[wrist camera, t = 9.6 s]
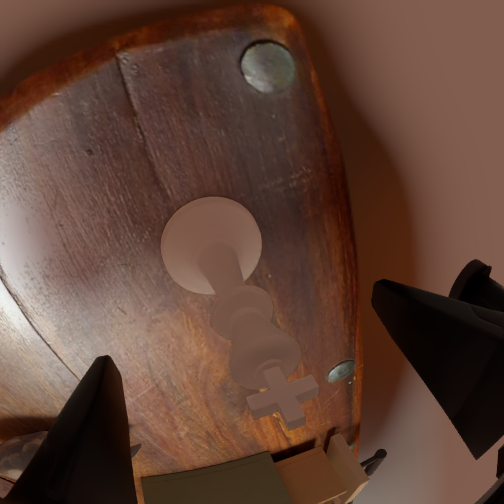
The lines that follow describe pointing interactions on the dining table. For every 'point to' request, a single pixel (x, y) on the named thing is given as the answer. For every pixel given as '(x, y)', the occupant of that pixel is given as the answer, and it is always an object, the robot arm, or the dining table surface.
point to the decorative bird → (25, 453)
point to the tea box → (4, 488)
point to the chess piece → (237, 301)
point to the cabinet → (220, 484)
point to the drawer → (327, 473)
